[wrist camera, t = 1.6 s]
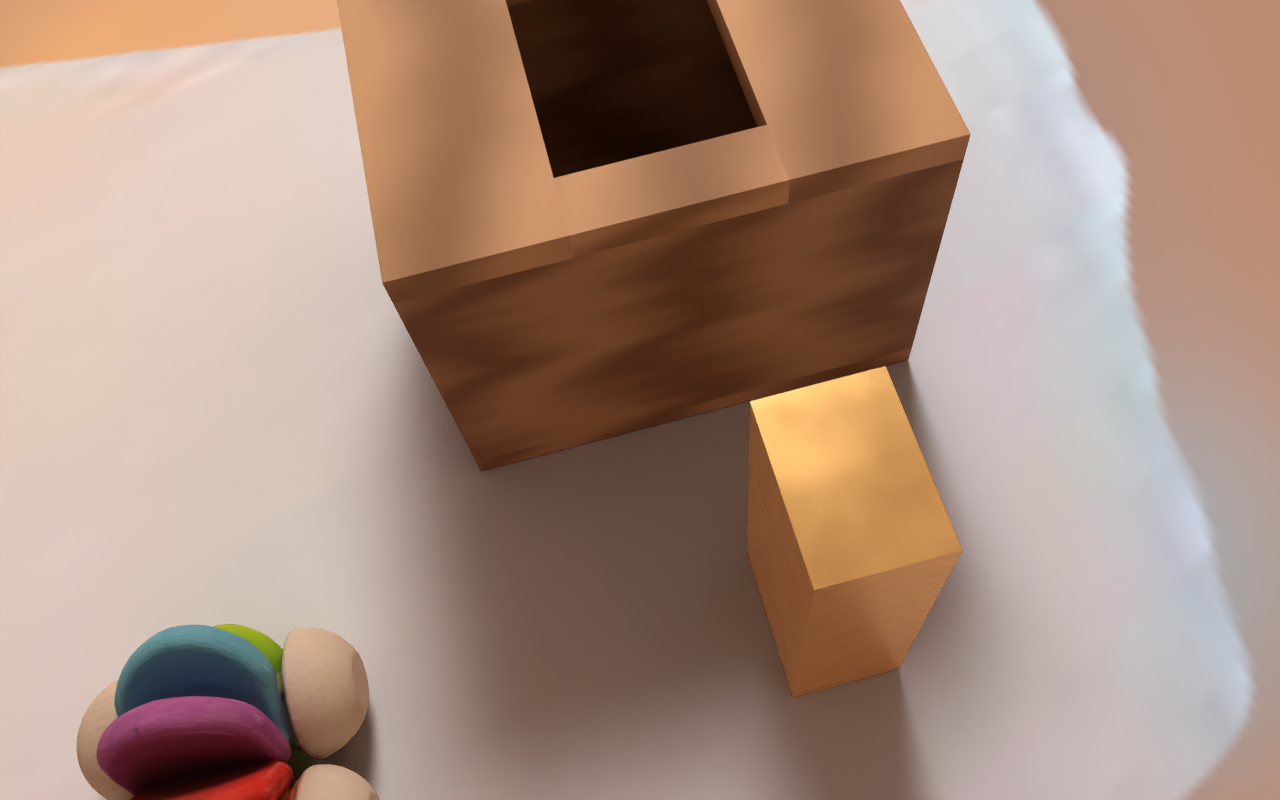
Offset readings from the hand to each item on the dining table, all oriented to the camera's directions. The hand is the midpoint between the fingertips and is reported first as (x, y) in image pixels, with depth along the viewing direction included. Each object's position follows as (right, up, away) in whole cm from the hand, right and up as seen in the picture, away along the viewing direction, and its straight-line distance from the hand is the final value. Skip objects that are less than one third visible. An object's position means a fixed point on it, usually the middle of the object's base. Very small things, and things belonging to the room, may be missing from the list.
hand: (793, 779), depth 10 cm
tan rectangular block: (+4, -3, +25) cm, 25 cm away
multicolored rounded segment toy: (-14, -9, +24) cm, 29 cm away
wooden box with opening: (-1, +8, +31) cm, 32 cm away
